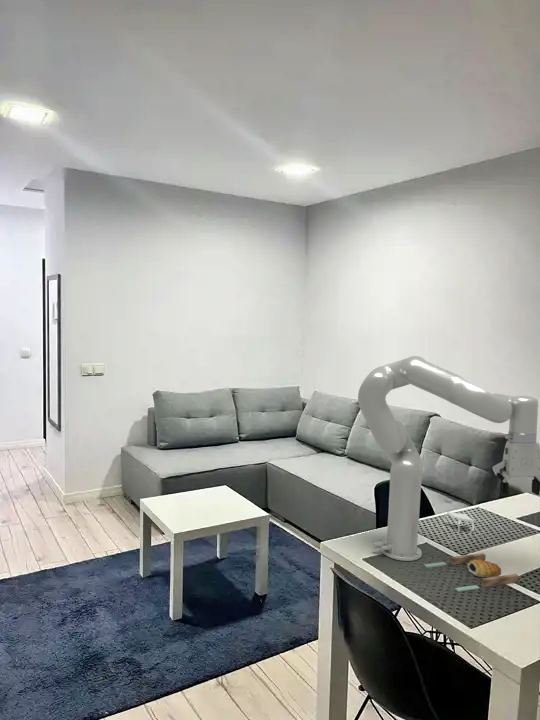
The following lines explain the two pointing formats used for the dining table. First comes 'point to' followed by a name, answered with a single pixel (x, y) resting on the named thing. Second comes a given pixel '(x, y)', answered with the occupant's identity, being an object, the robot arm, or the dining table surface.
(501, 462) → the robot arm
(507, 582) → the chute
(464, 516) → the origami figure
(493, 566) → the pastry
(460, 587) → the strips
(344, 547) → the dining table surface
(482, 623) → the dining table surface
